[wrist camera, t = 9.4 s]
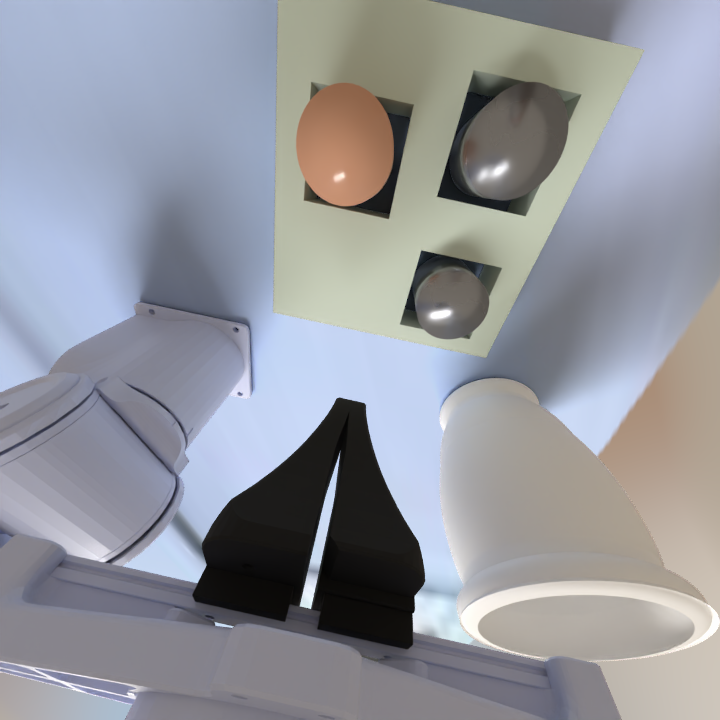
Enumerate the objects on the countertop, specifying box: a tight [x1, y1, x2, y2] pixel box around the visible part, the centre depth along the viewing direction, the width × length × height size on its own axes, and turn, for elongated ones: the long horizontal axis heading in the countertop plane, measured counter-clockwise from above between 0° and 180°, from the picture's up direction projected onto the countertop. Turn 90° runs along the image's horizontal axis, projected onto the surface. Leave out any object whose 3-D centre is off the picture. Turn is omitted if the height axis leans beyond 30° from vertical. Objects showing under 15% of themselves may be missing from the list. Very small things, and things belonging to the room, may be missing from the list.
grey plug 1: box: [412, 255, 489, 339], centre depth 18 cm, size 4×4×4 cm
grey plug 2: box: [449, 82, 569, 200], centre depth 14 cm, size 4×4×4 cm
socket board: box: [273, 0, 644, 358], centre depth 16 cm, size 15×15×3 cm
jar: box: [440, 378, 720, 661], centre depth 19 cm, size 11×10×15 cm
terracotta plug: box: [296, 83, 394, 206], centre depth 13 cm, size 4×4×4 cm
